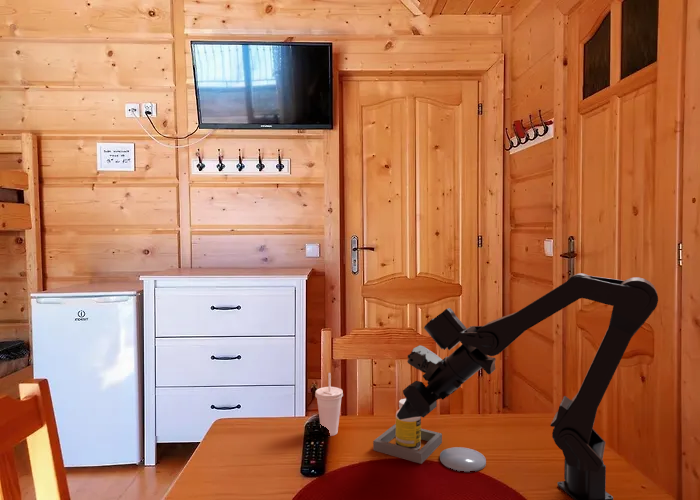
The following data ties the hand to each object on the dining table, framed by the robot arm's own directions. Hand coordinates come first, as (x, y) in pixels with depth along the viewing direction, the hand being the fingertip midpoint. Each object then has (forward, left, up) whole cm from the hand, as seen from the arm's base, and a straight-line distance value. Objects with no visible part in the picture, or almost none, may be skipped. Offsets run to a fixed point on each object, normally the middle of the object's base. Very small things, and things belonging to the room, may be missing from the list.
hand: (407, 410), depth 99 cm
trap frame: (0, 0, -8) cm, 8 cm away
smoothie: (+10, +15, -8) cm, 20 cm away
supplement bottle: (0, 0, -8) cm, 8 cm away
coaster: (-8, -9, -8) cm, 14 cm away
